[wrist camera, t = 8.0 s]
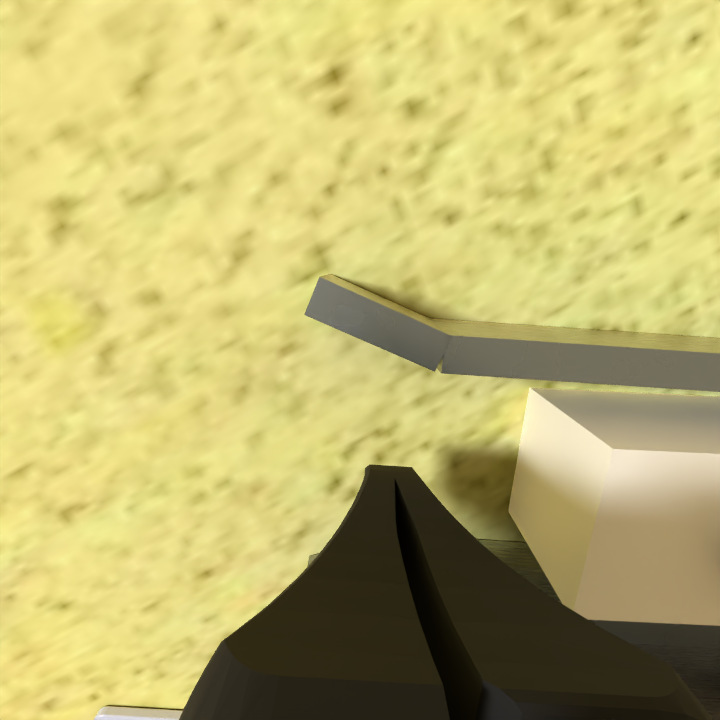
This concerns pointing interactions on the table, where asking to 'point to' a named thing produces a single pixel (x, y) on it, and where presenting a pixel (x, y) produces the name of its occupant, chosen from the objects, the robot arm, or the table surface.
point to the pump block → (623, 502)
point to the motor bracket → (555, 363)
